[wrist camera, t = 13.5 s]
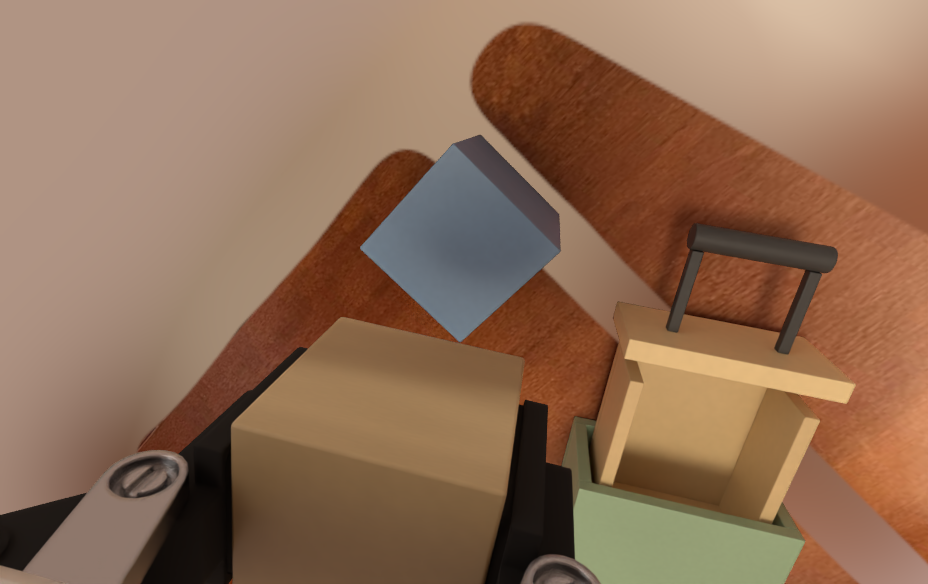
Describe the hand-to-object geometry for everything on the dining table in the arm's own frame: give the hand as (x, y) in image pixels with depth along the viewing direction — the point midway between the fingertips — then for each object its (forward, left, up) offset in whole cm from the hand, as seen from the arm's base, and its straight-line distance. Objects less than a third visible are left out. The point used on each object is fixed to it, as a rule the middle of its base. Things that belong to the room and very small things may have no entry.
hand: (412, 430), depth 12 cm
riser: (-1, -1, -22) cm, 23 cm away
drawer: (+8, +13, -22) cm, 26 cm away
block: (0, 0, -1) cm, 1 cm away
